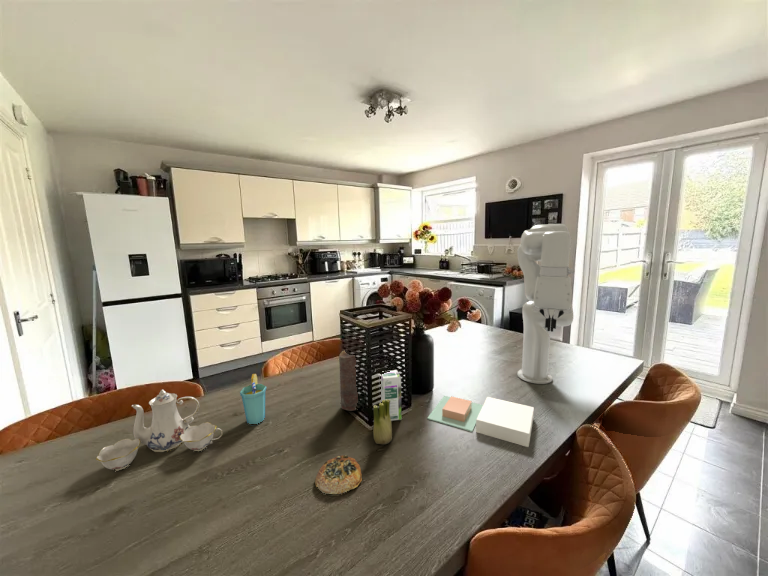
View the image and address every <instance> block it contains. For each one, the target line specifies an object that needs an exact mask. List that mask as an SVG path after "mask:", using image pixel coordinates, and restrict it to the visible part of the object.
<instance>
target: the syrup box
mask: <svg viewBox="0 0 768 576" xmlns="http://www.w3.org/2000/svg"><path fill="white" fill-rule="evenodd" d="M389 371H390V372H387V373H384V374H382V375H381V400H387V399H388V400H390V418H391V422H393V421H401V420H402V419H403V418H402V377H401V375H400V373H399V371H398V370H397V369H394V370H389Z"/></svg>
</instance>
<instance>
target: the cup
mask: <svg viewBox="0 0 768 576" xmlns="http://www.w3.org/2000/svg"><path fill="white" fill-rule="evenodd" d="M250 381H251V384H250V385H247V386H244V387H243V388H242V389H241V390H240V391H239V395H240V397H241V400H242V405H243V410H244V415H245V420H246V423H247V424H248V423H249V424H257V425H259V424H261V423H260V422H262V421H263V420H264V421H265V419H266V390H267V386H266V385H264V384H263V383H258V376H257V373H252V374H251V379H250ZM264 418H265V419H264ZM264 421H263V422H264ZM263 422H262V423H263ZM258 423H259V424H258ZM249 424H248V425H249Z"/></svg>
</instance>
